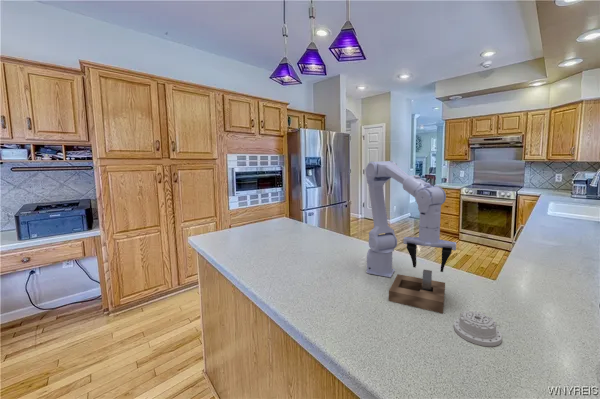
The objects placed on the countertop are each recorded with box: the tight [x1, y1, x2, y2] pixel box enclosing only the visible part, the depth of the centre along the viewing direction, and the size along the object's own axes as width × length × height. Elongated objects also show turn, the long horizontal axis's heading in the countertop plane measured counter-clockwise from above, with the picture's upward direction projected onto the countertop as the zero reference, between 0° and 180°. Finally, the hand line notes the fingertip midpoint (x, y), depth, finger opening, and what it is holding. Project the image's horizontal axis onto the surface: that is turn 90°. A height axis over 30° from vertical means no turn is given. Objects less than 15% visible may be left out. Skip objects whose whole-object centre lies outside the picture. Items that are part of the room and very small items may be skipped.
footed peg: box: [419, 269, 433, 292], centre depth 82 cm, size 5×5×9 cm
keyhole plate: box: [388, 273, 446, 314], centre depth 83 cm, size 15×14×3 cm
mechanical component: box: [453, 310, 503, 348], centre depth 65 cm, size 10×4×10 cm
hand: (427, 268), depth 81 cm, fingers open, 7 cm apart
